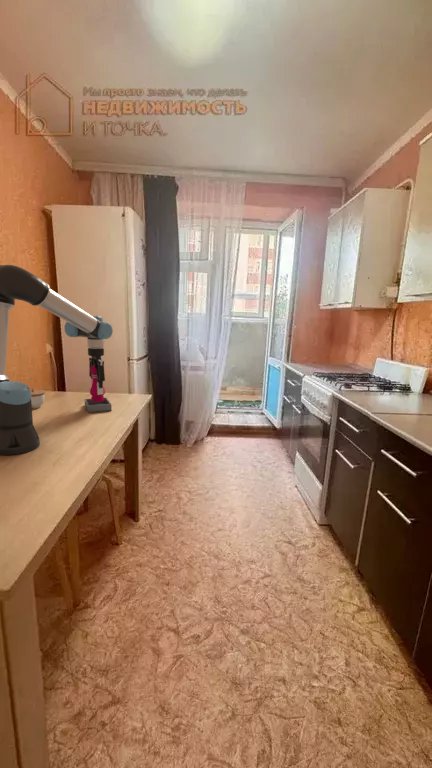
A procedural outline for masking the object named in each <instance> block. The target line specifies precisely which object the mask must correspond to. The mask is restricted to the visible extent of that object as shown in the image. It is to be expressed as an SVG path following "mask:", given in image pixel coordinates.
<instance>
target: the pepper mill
mask: <svg viewBox="0 0 432 768" xmlns="http://www.w3.org/2000/svg"><path fill="white" fill-rule="evenodd" d="M97 367H98V366H97ZM90 371H91V373H92V378H93V384H92V385H91V386H90V389H89V394H90V395H91V397H90V399H91V401H93V402H101V401H104V398H105V396H104V395H105V393H106V390H105V387H104V386H103V394H100V395H98V394H97V382H96V381H98V379H97V373H96V369H95V367H94V365H93V366H92V367H91V369H90ZM92 378H91V379H92Z"/></svg>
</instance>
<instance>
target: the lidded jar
mask: <svg viewBox="0 0 432 768" xmlns="http://www.w3.org/2000/svg"><path fill="white" fill-rule="evenodd" d="M30 392H31V396H32V397H31V404H32V410H33V409H38V408H41V406H42V405H43V404H44V402H45V399H46V397H45V395H46V392H45V390H42V389H34V388H30Z"/></svg>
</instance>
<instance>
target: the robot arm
mask: <svg viewBox="0 0 432 768" xmlns="http://www.w3.org/2000/svg"><path fill="white" fill-rule="evenodd" d="M16 300H17V301H18V300H19V301H22V302H26V303H28V304H30V305H32V306H33V307H37V306H39V307H41V308H43V309H44V310H46V311H48V312H49V313H51V314H52V315H55V316H56V317H58V318H60V319H62V320H63V321H65V324H64V332H65V334H66V335H67V336H68V337H70V338H78V337H79V338H87V339H86V341H87V347H88V348H87V355H88V356H89V358H88V361H89V365H88V367H89V371H88V372H89V373H88V374H89V377H90V379H91V380H90V381H91V382H90V383H91V386H92V384H93V378H92V373H91V371H90V369H91V367H92V366H93V365H94V367H95V369H96V373H97V379H98V381H96V382H97V394H98V395H100V394H103V387H104V382H105V381H106V378H105V377H106V376H105V360H102V356H104V355H105V349H104V347H105V346H104V344H105V340H108V339H110V338H111V337H112V335H113V326H112V324H111V323H110V322H107V321H104V319H103V316H101V315H91V314H90V313H88V312H86V311H85V310H83V309H82V308H81V307H79V306H77V305H76V304H74V303H73V302H71V301H70V300H68V299H66V298H65V297H63V295H61V294H59V293H58V292H56V291H54V290H53V289H51V288H50V285H49V284H48V283H47V282H46V281H44V280H43V279H41V278H39V277H38V276H37V275H35V274H33V273H32V272H30V271H28V270H26V269H24V268H23V267H20V266H17V265H13V264H0V456H14V455H15V456H16V455H20V454H25V453H28V452H29V453H30V452H31V451H33V450H35V449H37V448H39V447H40V444H41V441H40V437H39V435H38V433H37V430H36V429H35V426H34V422H33V409H32V404H31V397H32V396H31V392H30V390H31V388H30V386H29V385H28V384H26V383H23V382H20V381H12V380H10V378H9V377H8V376H7V374H6V366H7V365H6V363H7V349H8V336H9V335H8V332H9V320H10V319H9V318H10V311H11V309H13V308H15V304H16ZM97 366H98V367H97Z"/></svg>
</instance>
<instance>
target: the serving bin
mask: <svg viewBox="0 0 432 768" xmlns="http://www.w3.org/2000/svg"><path fill="white" fill-rule="evenodd" d="M84 407H85V409H86V411H87V413H88V414H94V413H103V412H104V413H105V412H112V409H113V408H112V403H111V402H110V400H109V399H108V397H104V401H101V402H93V401H91V398H84Z"/></svg>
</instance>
